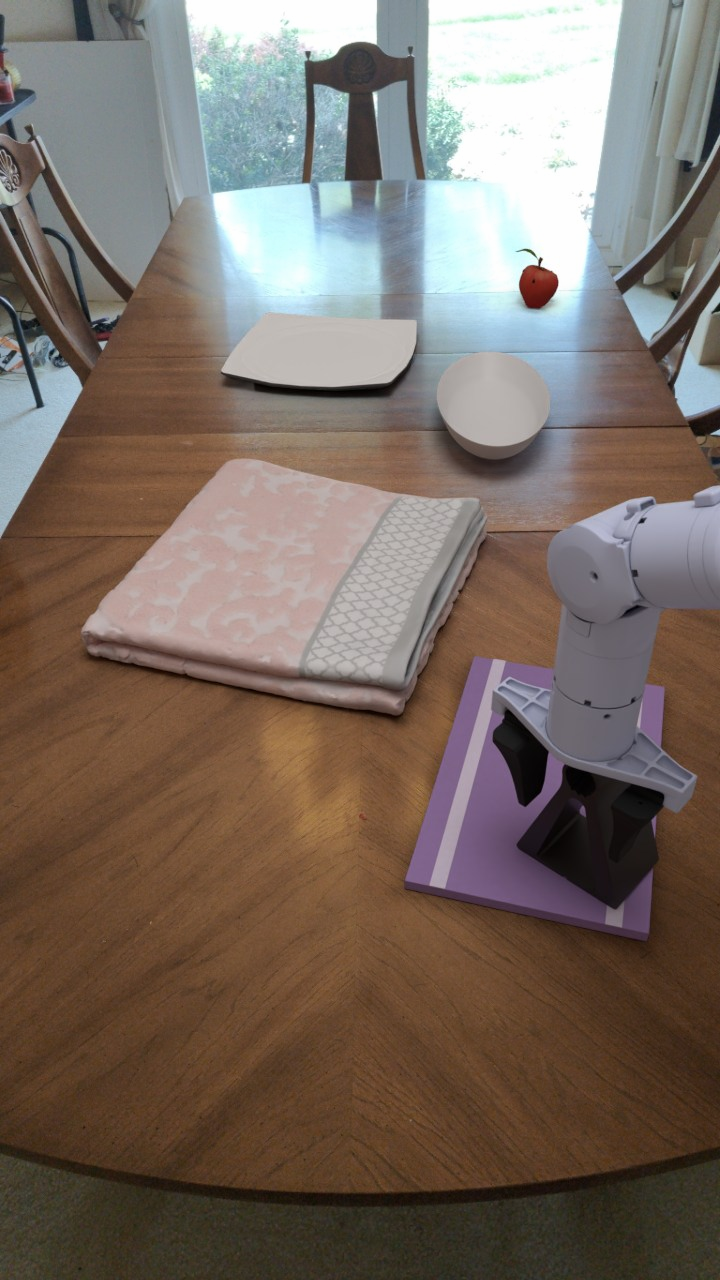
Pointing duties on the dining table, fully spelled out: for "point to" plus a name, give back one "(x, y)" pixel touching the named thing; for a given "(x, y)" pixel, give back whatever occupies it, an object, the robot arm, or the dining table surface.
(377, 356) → the plate
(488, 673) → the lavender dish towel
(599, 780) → the phone stand
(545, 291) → the apple
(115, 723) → the dining table surface
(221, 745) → the dining table surface
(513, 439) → the bowl
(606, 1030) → the dining table surface
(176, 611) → the towel
